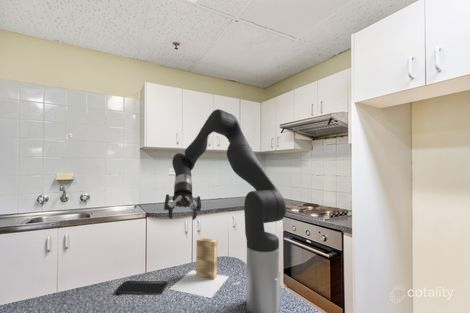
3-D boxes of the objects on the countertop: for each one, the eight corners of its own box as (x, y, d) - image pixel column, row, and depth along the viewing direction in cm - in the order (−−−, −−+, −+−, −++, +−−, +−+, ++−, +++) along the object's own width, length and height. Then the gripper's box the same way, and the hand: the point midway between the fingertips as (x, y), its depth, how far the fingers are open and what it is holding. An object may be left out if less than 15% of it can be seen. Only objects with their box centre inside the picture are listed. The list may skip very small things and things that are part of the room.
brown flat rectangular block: (216, 276, 87) (217, 240, 88) (214, 279, 85) (214, 242, 86) (199, 273, 90) (199, 238, 90) (196, 276, 88) (196, 239, 88)
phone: (125, 280, 83) (168, 281, 83) (125, 284, 83) (168, 284, 83) (112, 293, 76) (161, 293, 75) (112, 296, 76) (160, 297, 75)
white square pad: (229, 277, 88) (229, 276, 88) (211, 299, 74) (211, 298, 74) (192, 271, 93) (192, 269, 93) (168, 290, 79) (168, 289, 79)
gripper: (166, 179, 101) (163, 210, 88) (201, 182, 104) (203, 212, 92) (165, 192, 105) (162, 223, 93) (198, 194, 109) (199, 224, 96)
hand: (182, 218), depth 92 cm, fingers open, 8 cm apart
